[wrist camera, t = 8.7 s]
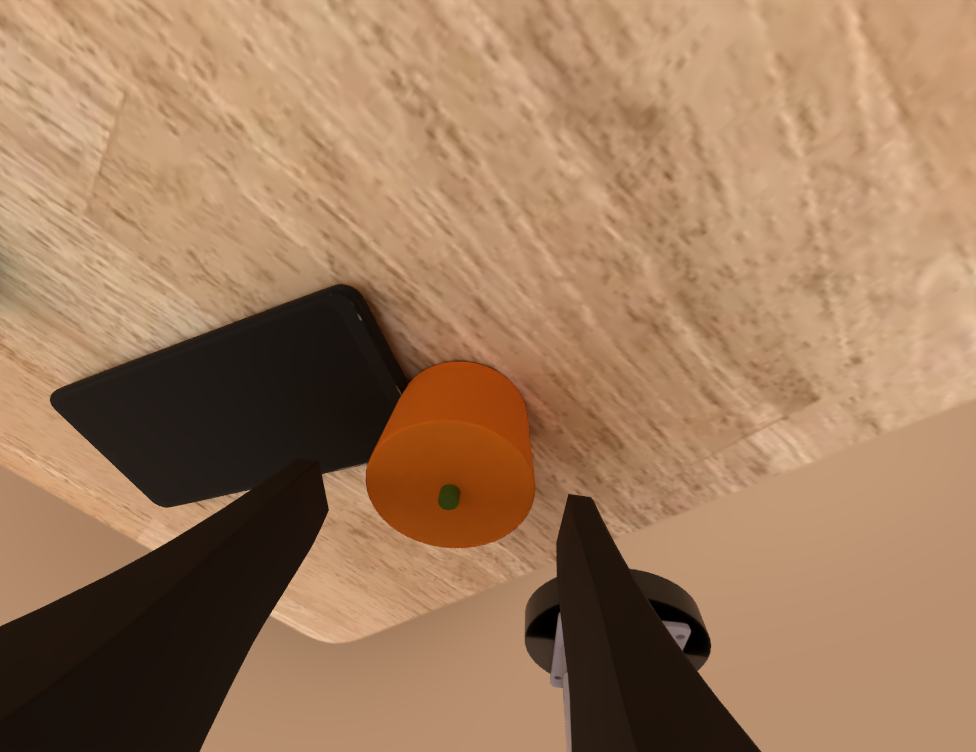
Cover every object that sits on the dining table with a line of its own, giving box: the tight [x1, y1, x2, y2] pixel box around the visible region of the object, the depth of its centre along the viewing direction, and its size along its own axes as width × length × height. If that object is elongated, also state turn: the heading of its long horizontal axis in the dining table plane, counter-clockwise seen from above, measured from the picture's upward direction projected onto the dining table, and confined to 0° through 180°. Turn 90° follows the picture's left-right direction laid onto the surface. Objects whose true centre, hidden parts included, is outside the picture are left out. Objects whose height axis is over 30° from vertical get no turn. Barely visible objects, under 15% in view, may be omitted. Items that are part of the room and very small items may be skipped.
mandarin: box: [366, 361, 535, 548], centre depth 12 cm, size 5×5×4 cm
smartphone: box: [50, 284, 408, 508], centre depth 15 cm, size 7×1×15 cm
